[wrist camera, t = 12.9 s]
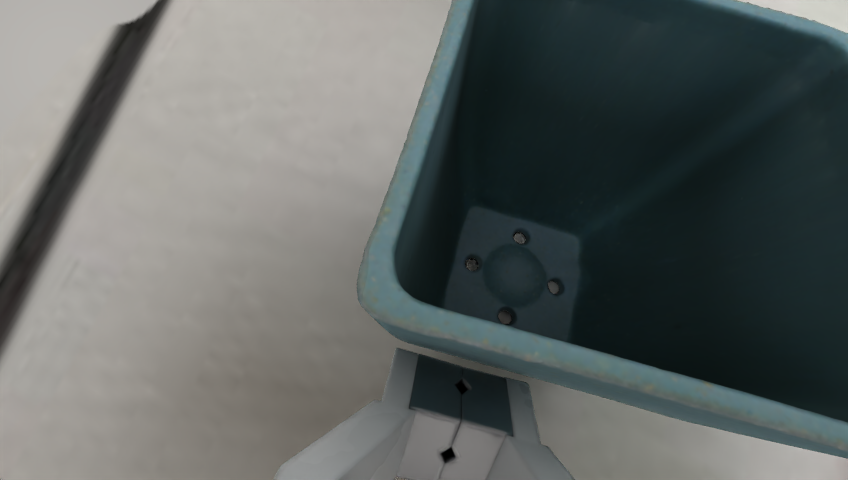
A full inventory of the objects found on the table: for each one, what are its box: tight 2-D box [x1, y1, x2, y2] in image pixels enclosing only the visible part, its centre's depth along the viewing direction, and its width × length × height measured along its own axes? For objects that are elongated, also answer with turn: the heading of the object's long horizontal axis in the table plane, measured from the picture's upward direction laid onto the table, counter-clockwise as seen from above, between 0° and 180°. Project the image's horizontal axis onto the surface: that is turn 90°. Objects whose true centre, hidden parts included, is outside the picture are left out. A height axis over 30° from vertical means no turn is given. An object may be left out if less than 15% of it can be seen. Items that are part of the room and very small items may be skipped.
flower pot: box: [357, 0, 848, 458], centre depth 11 cm, size 9×9×9 cm
